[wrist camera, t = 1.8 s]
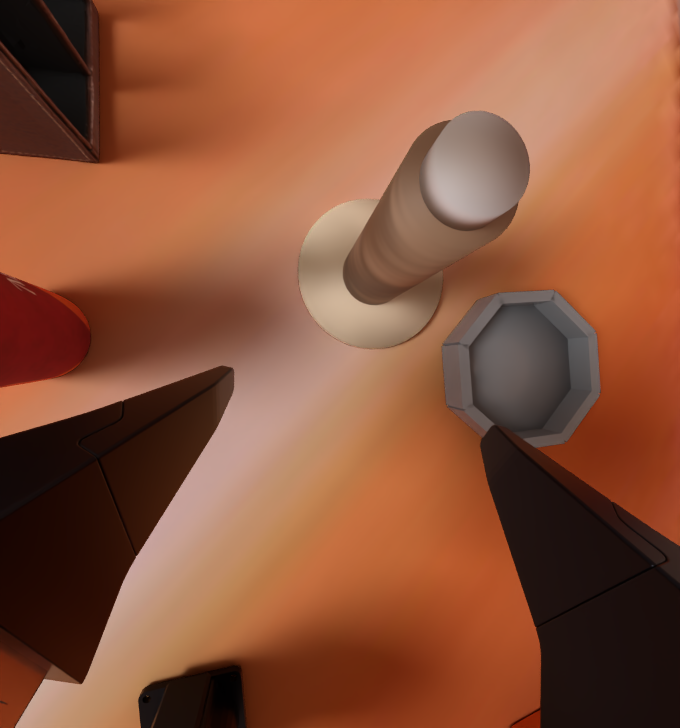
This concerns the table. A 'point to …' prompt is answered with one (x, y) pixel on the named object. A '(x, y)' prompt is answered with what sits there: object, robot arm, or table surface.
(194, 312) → the table surface
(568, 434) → the bowl
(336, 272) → the cork mat
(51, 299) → the paper cup
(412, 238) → the salt mill
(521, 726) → the whiskey bottle
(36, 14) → the letter holder
